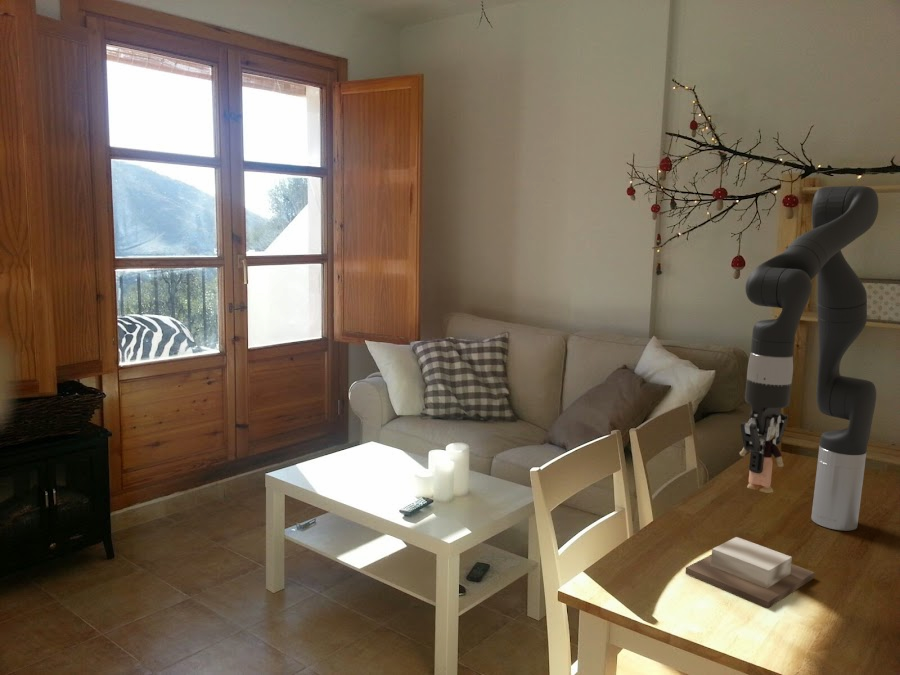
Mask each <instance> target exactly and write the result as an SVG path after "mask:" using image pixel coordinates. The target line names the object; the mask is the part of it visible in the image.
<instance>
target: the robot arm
mask: <svg viewBox="0 0 900 675" xmlns="http://www.w3.org/2000/svg"><path fill="white" fill-rule="evenodd" d="M811 204H812V205H811V222H812V224H811V225H812V228H811V229H810V230H808V231H806V232H804V233H802V234H800V235H799V236H798V237H797V238H795V239H794V240H793V241H792V242H791V243H790V244H789V245H788V247H786V248H785V250H783V252H782V253H780V254H778V255H775V256H774V257H772V258H771V257H770V259H768V260H766V261H764V262H762V263H761V264H758V266H756V267H755V268H754V269H753V270H752V271H751V273H750V274H749V276H748V277H747V280H746V283H745V295H746V297H747V298H748V300H749V301H750V302H751V303H752V304H754V305H756V306H760V307H769V308H777V309H781V312H780V314H779V316H778V317H777V318H774V319H763V320H759V321H757V322H755V323H754V325H753V328H752V336H751V345H750V346H751V347H750V355H749V358H748V364H747V369H746V370H747V371H746V372H747V373H746V383H745V392H744V400H745V402H746V404H749V405H751V409H750V413H749V420H748V421H742V422H741V423H740V431H741V437H742V443H743V447H744V449H746V450H749V451H748V452H750V457H749V458H750V459H749V469H748V470H749V471H751V472H754V473H758V474H759V473H762V471H763V462H764V452H765V446H766V442H768V441H769V439H770V433H771V427H772V426H773V424H774V426H775V428H776V431H775V434H774V436H773V438H772V439H771V440H770V441H769V442H772V443H774V444H775V445H776V446H780V445H781V442H782V438H783V435H784V432H785V430H786V426H787V423H788V420H789V415H788V414H785V413H782V409H785V408H787V407H789V406H790V403H791V394H792V385H793V375H794V362H793V361H794V350H795V342H796V334H797V330H798V327H799V324H800V321H801V318H802V316H803V313H804V311H805V309H806V307H807V305H808V301H809V300H810V297H811V294H812V289H813V286H812V280H813V279H814V278H815V277H817V282H816V283H817V284H816V285H817V287H816V288H817V289H816V292H817V293H816V300H817V301H816V305H817V306H816V309H817V313H816V314H817V325H818V327H817V329H818V364H817V365H818V366H817V379H816V380H817V382H816V404H817V408H818V411H819V412H820V413H821V414H823V415H826V416H829V417H834V418H838V419H842V420H847V421H849V424H848V427H846V428H844V429H837V430H828V431H824V432H823V433H822V434H821V435H820V439H819V448H818V455H817V464H816V474H815V480H814V481H815V483H814V492H813V501H812V508H811V516H810V518H811V519H810V520H812V522H814V523H815V524H816V525H819V526H822V527H824V528H827V529H830V530H831V529H832V530H836V531H846V532H847V531H854V530H856V529H857V528H858V523H859V517H860V516H859V515H860V508H861V501H862V491H863V484H864V483H863V482H864V474H865V466H866V458H867V451H868V445H869V440H870V436H871V429H872V423H873V418H874V413H875V408H876V402H877V389H876V386H875V384H874V382H872V381H871V380H868V379H867V380H866V379H862V378H856V377H850V376H844V375H841V373H840V366H841V361H842V358H843V356H844V355H845V354H846V352H847V351H848V349H849V348H850V346H851V345H852V344H853V343H854V342H855V340H856V339H857V338H858V337H859V336H860V335H861V333H862V332H863V330H864V328H865V327H866V325H867V320H868V295H867V294H868V293H867V291H866V288H865V286H864V284H863V282H862V281H861V279H860V278H859V276H858V275H857V274H856V272H855V271H854V269H853V268H852V267H851V266H850V264H849V262H848V261H847V260H846V257H845V256H844V254H843V253H842V250H844V248H846V247H847V246H848V245H850V244H851V243H853V242H854V241H855V240H857V239H858V238H860V237H861V236H862V235H865V233H867V231H869V230H870V229H871V227H873V225H874V224H875V221H876V219H877V217H878V212H879V198H878V194H877V192H876V190H874V189H873V188H872V187H870V186H866V185H839V186H838V185H837V186H835V185H834V186H833V185H832V186H830V185H829V186H823V187H820V188H819V189H817V190H816V191H815V193H814V195H813V199H812V203H811ZM759 434H761V435H764V436H759ZM759 441H760V442H761V443H759ZM749 442H750V443H749ZM772 456H774V455H773V454H772Z"/></svg>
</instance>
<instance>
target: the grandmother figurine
mask: <svg viewBox="0 0 900 675" xmlns="http://www.w3.org/2000/svg"><path fill="white" fill-rule="evenodd" d="M775 431H776V428H775V426H774V424H773V426H772V427H771V433H770V439H769V441H770V440H771V439H772V438H773V436H774V434H775ZM759 436H764V435H761V434H759ZM769 441H768V442H766V446H765V452H764V462H763V471H762V473H759V474H758V473H754V472H751V471H750V470H749V474H748V484H747V488H748V489H751V490H758V489H759V492H762V493H765V494H766V493H768V494H769V493H774V489H773V488H772V487H771V483H772V474H773V457H774V458H775V461H776V463H777V464H776V465H777V467H779V468H782V467H784V462H783V457H782V456H783V455H782V453H781V451H780V449H779V448H778V445H775V444H774V443H772V442H769ZM749 443H750V441H749ZM759 443H761V442H760V441H759ZM748 452H750V451H749V450H746V449H744V446H743V448H742V450H741V451H739V456H741V457H745V456H746V454H747V453H748ZM772 454H773V455H772ZM760 486H762V487H760Z"/></svg>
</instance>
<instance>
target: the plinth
mask: <svg viewBox="0 0 900 675" xmlns="http://www.w3.org/2000/svg"><path fill="white" fill-rule="evenodd" d="M792 560H793V557H792V556H791V555H788V554H785V553H783V552H779V551H777V550H773V549H771V548H769V547H766V546H763V545H761V544H757V543H754V542H752V541H750V540H746V539H744V538H741V537H738V536H735V537H733V538H731V539H730V540H727V541H725V542H723V543H722V544H719V545H717V546H715V547H713V548H712V549H711V554H710V555H708V556H706V557H704V558H702V559H700V560H698V561H696V562H693V563H691V564H690V565H687V566H686V567H685V572H684V573H685V575H688V576H691V577H694V578H695V579H698V580H700V581H703V582H705V583H707V584H710V585H712V586H714V587H716V588H719V589H721V590H723V591H726V592H729V593H731V594H733V595H735V596H738V597H740V598H742V599H744V600H747V601H750V602H751V603H754V604H756V605H758V606H762V607H763V608H766V609H769V608H771V607H772V606H774V605H775V604H776V603H779V602H780V601H781V600H783V599H785V598H786V597H788V596H789V595H791V594H792V593H793V592H795V591H797V590H798V589H799V588H801V587H802V586H804V585H806V584H808V583H809V582H810V581H812V580H813V579H815V572H814V571H812V570H809V569H807V568H804V567H801V566H798V565H796V564H794V563H792Z"/></svg>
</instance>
